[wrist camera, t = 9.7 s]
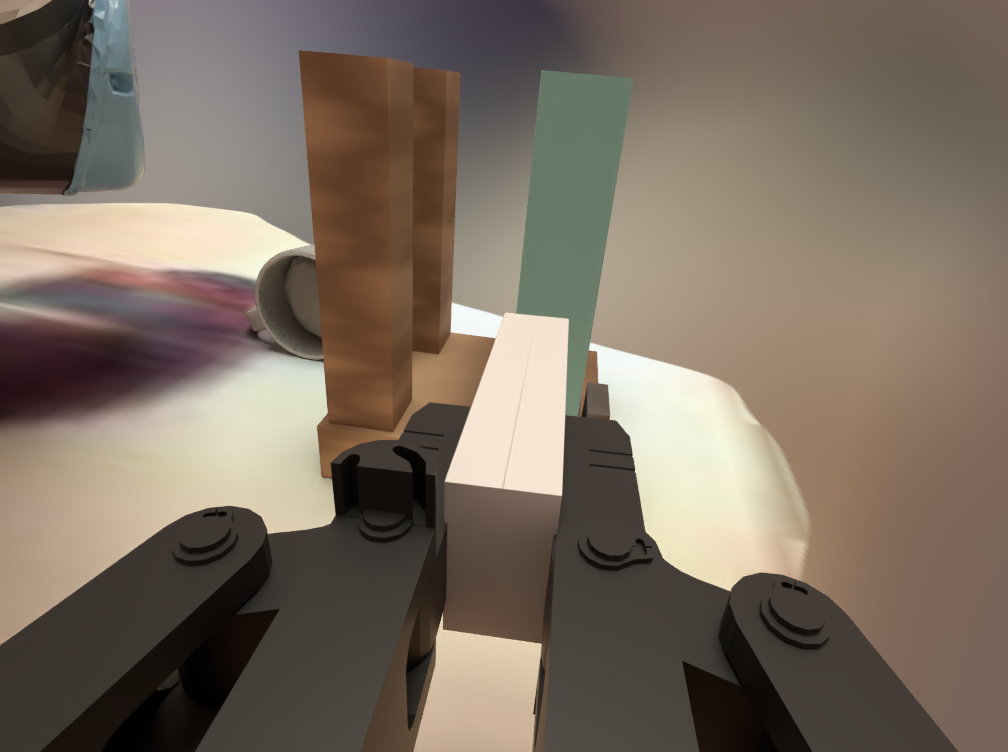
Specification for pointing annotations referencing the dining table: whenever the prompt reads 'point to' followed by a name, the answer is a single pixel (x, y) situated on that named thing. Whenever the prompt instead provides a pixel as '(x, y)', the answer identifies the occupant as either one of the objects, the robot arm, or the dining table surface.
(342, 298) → the upturned wooden stool
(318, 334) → the ceramic mug
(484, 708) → the dining table surface
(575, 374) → the hinged leg
